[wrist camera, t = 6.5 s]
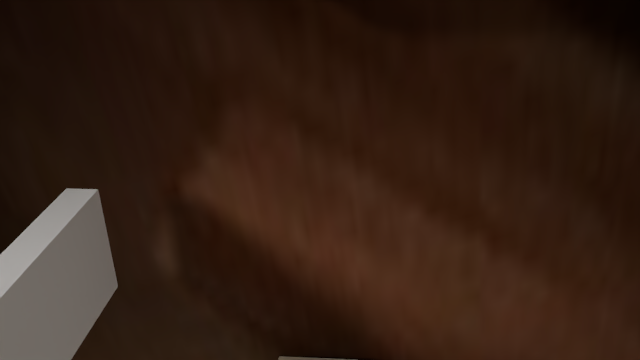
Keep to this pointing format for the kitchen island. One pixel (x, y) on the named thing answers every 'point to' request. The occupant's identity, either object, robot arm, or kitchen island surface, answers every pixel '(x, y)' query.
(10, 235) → the kitchen island surface
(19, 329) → the robot arm
